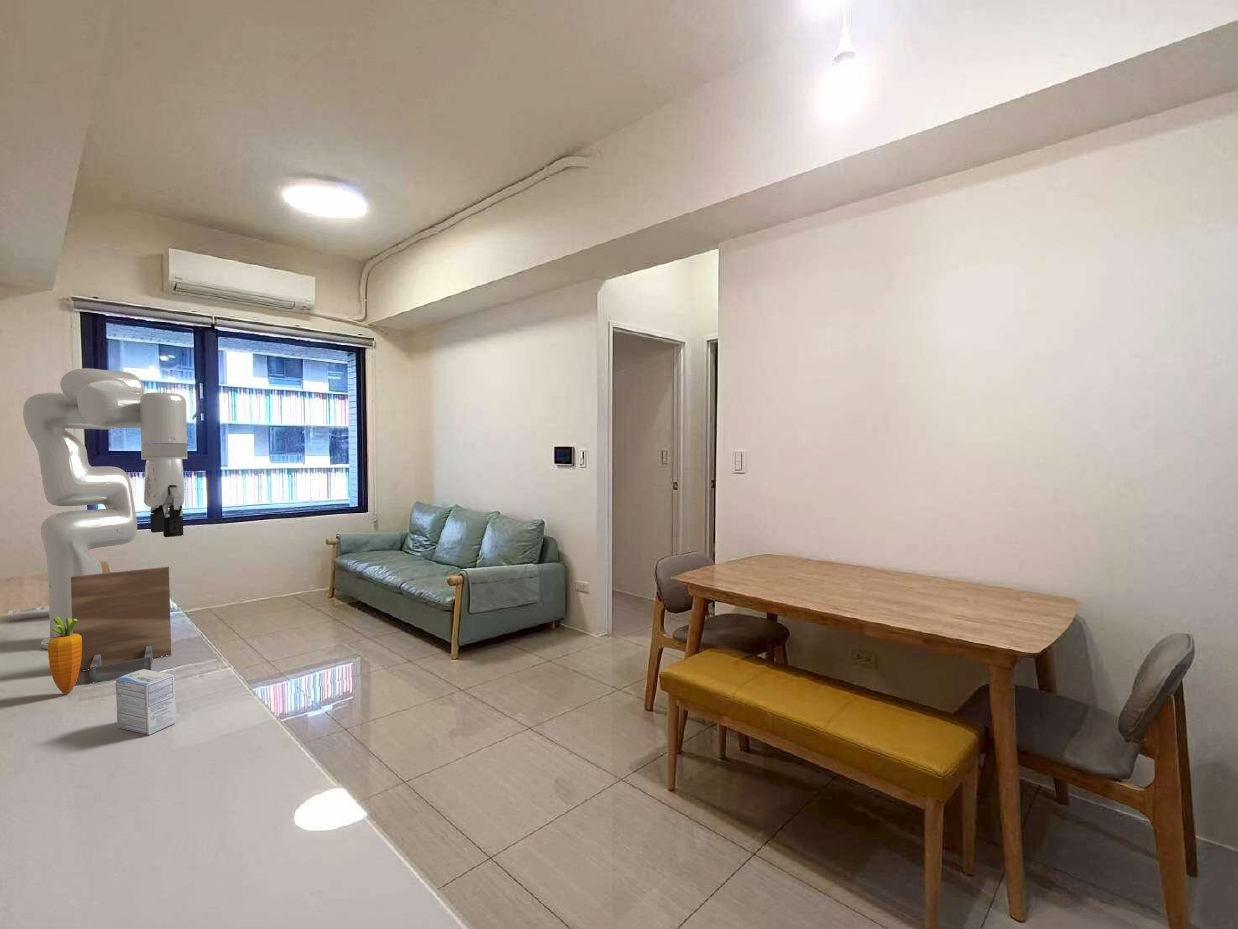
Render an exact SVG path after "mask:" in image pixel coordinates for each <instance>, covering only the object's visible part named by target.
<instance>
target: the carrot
mask: <svg viewBox="0 0 1238 929" xmlns="http://www.w3.org/2000/svg"><path fill="white" fill-rule="evenodd" d="M53 620H54V621H55V622H56V624H57V625H56V626H55V627H56V628H52V630H54V631H55V632H57V633H59V634H60V635H59V636H56V637H53V638H52V639H50V640H49V643H48V649H47V654H48V664H49V669H50V674H51V676H52V677H51V678H52V679H53V682H54V684H55V686H56V687H57V689H58V690H59V691H60V692H61V693H62V694H63V695H66V696H67V695H68V694H70V693H71V692H72V691H73V688H74V687H75V685H76V683H77V680H78V678H79V675H80V672H79V671H80V666H81V658H82V637H81V635H79V634H71V631H72V629H73V627H74V625H75V623H76V622H77V619H73V620H71V619H70V618H66V624H67V629H66V627H65V624H64V623H63V621H62V620H61V619H60V617H55V618H54V619H53ZM57 628H58V629H57ZM59 629H60V630H61V631H60V630H59Z"/></svg>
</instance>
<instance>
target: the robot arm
mask: <svg viewBox="0 0 1238 929" xmlns="http://www.w3.org/2000/svg"><path fill="white" fill-rule="evenodd" d="M59 382H60V384H59V385H60V389H61V391H62V392H43V393H37V394H33V395H31V396H29V397H28V398H27V399H26V400H25V402H24V404H23V409H22V410H23V411H22V416H23V422H24V427H25V429H26V431H27V434H28V436H29V437H30V439H31V440H32V442H33V444H34V446H35V448H36V451H37V454H38V460H39V461H38V462H39V467H40V474H41V480H42V488H43V492H44V496H45V500H47V502H48V503H49V504H50V505H53V506H56V507H77V506H79V507H80V506H90V505H93V506H94V505H103V506H104V508H99V509H84V510H83V509H82V510H70V511H62V512H58V513H55V514H51V515H49V516H48V517H46V518H45V519H44V520H43V521H42V523H41V525H40V535H41V540H42V543H43V548H44V551H45V552H44V553H45V556H46V562H47V563H46V564H47V566H46V567H47V581H48V607H49V610H48V611H49V636H48V637H46V638H44V639H43V640H42V641H41V642H40V647H41V648H42V649H46V650H48V643H49V640H50V639H52V638H53V637H56V636H59V635H60V634H59V633H57V632H55V631H54V630H52V628H56V627H55V626H56V625H57V624H56V622H55V621H54V620H53V619H54V618H55V617H60V619H61V620H62V621H63V623H64V624H65V627H66V629H67V624H66V618H70V619H71V620H72V598H71V577H72V576H81V575H91V574H101V573H102V566H101V564H100V562H99V561H100V560H98V559H97V558H96V557H95V556H94V555H93V554H91V553H90V552H89V550H93V549H97V548H98V549H99V548H107V547H112V546H113V547H115V546H121V545H126V544H128V543H131V542H132V541H134V540H135V539H136V536H137V534H138V521H137V513H136V507H135V501H134V494H133V488H132V482H131V480H130V477H129V476H128V474H127V472H126V471H125V470H124V469H122V468H120V467H117V466H111V465H110V466H109V465H108V466H107V465H106V466H105V465H104V466H92V465H91V464H90V463H89V459H88V451H87V448H86V446H85V444H83V442H82V441H81V440H79V439H78V437H76V436H75V435H74V434H72V433H71V432H69V431H68V430H67V429H77V430H113V429H140V440H141V441H140V443H141V444H140V449H141V451H140V452H141V453H140V454H141V460H144V461H145V468H144V487H143V488H144V490H143V491H144V492H143V495H144V497H143V503H144V505H146V506H147V507H149V508H150V513H149V515H150V516H149V517H150V523H149V524H150V532H151V533H162V535H163V537H164V538H173V537H182V536H183V535H184V512H183V505H184V504H185V477H184V466H183V460H188V430H187V429H188V428H187V425H188V424H187V400H186V398H185V396H183V395H181V394H179V393H175V392H174V393H173V392H157V391H155V392H146V393H145V388H144V385H143V382H142V380H141V379H140V378H139V377H138V376H137V375H136V374H133V373H131V372H127V371H119V370H118V371H117V370H111V369H110V370H108V369H99V368H87V367H85V368H75V369H72V370H69V371H68V372H66V373H65V374H63V376H62V377H61V379H60V381H59ZM57 629H58V628H57ZM59 630H60V629H59ZM60 631H61V630H60ZM71 634H73V630H72V631H71Z"/></svg>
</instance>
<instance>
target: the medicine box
mask: <svg viewBox="0 0 1238 929" xmlns="http://www.w3.org/2000/svg"><path fill="white" fill-rule="evenodd" d="M175 692H176V691H175V676H174V674H172V673H166V672H160V671H156V670H152V669H151V670H145V669H142V670H139V671H136V672H133V673H130V674H127V675H124V676H122V677H119V678H117V679H115V696H116V697H115V698H116V722H117V723H116V724H117V725H116V726H117V728H118V729H123V730H127V731H132V732H136V733H140V734H144V735H152V734H154V733H157V732H160V731H162V730H164V729H167V728H169V727H171V726H175V724H176V722H177V719H176V718H177V716H176V696H175V695H176V694H175Z"/></svg>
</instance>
